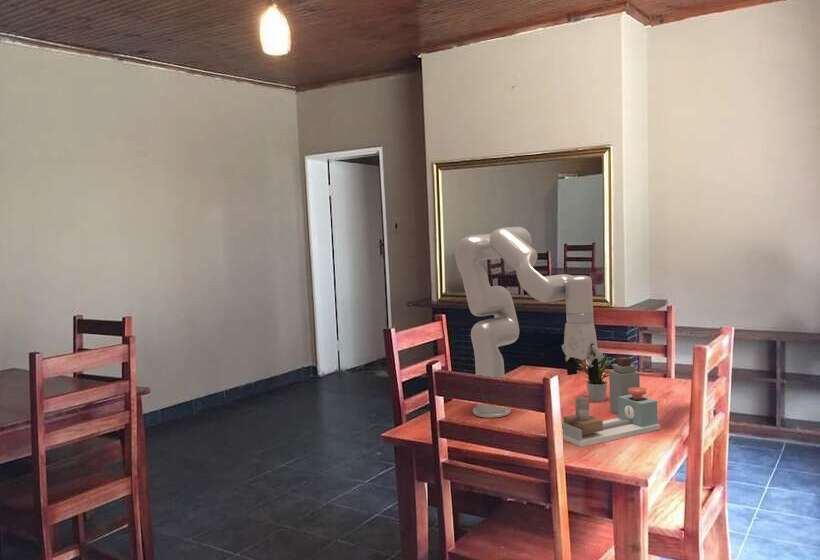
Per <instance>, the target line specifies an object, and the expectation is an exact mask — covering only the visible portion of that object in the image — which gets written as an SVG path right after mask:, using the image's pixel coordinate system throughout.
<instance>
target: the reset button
mask: <svg viewBox="0 0 820 560" xmlns="http://www.w3.org/2000/svg"><path fill="white" fill-rule="evenodd" d="M628 393H629V394H631V395H632V399H633V400H642V399H643V398H642V397H643V395H644V396H645V395H646V394H647V388H645V387H642V386H640V387H630V388H628Z"/></svg>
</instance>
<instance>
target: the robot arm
mask: <svg viewBox="0 0 820 560" xmlns="http://www.w3.org/2000/svg"><path fill="white" fill-rule="evenodd" d="M532 243H533V241H532V236H531V233H530V232H529V231H528V230H527V229H526V228H525V227H523V226H507V227H500V228H497V229H495V230H493V232H491V233H486V234H474V235H468V236H466V237H463V238H462V239H460V241H459V242H457V246H456V248H455V252H454V253H455V255H454V256H455V257H454V258H455V262H456V266H457V268H458V271H459V273H460V275H461V279H462V283H463V289H464V291H465V296H466V301H467V303H468V304H467V305H468V308H469V311H470V313H471V314H472V315H473V316H475V317H487V316H492V315H493V316H494V318H489V319H484V320H479V321H478V322H476V323H475V324H474V325H473V326H472V328H471V331H470V339H471V343H472V348H473V354H474V363H475V364H474V366H475V376H476V375H482V376H490V377H504V378H505V363H504V362H505V361H504V357H503V355H502V353H501V352H500V349H499V347H502V346H503V347H504V346H507V345H511V344H513V343H515V342H516V341H517V340H518V339H519V337H520V336H519V335H520V326H519V321H518V316H517V312H516V309H515V304H514V300H513V297H512V295H511V293H510V291H509V290H508V289H507V288H506V287H505V286H501V285H493V286H491V284H490V281H489V276H488V273H487V271H486V270H485V268H484V266H483V265H481V264H480V261H485V260H495V259H496V260H497V259H503V260H504V261H505V262H506V263H507V264H508V265H510V266H511V267H512V269H514V270H515V271H516V277H517V281H518V283H519V285H520V287H521V288H522V289H523V290H524V291H525V292H526V293H527V294H528V295H529V296H530V297H532V298H533V299H535V300H537V301H539V302H541V303H550V302H556V301H563V300H565V313H566V322H565V325H564V332H563V333H564V336H563V344H561V350H562V353H563V356H564V360H565V362H566V372H567V373H566V374H567V375H568V376H573V375H577V374H578V365H577V363H578V361H577V360H580V361H582V360H583V361H584V360H586V363H587V364H588V365H589V366H590V367H587V369H588V374H587V377H588V378H587V379H588V380H587V381H594V380H598V379H599V375H600V374H599V371H598V366H599V365H600V362H601V359H602V356H603V355H604V353H603V351H602V350H600V349H599V347H598V340H597V333H596V327H595V323H594V321H595V320H594V305H593V304H594V301H593V300H594V298H593V281H592V277H590V276H588V275H572V274H565V273H564V274H563V273H562V274H561V273H560V274H555V275H554V274H552V275H545V276H544V275H543V274H541V273H540V272H539V271H537V270H536V269H535V268H534V266H535V265H536V263H537V260H538V252H537V250H536V249H534V248H533V247H532ZM576 359H577V360H576ZM591 359H593V361H591ZM510 413H511V408H510V409H508V408H502V407H496V406H491V405H484V404H478V403H477V402H476V407H473V408H472V414H473V415H475V416H476V417H481V418H488V419H494V418H501V417H502V418H503V417H507V416H508V415H510Z"/></svg>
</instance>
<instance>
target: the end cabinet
mask: <svg viewBox="0 0 820 560" xmlns="http://www.w3.org/2000/svg"><path fill="white" fill-rule="evenodd" d="M642 398H643V399H642V400H633V399H632V395H631V394H630V395H625V396H619V397H618V408H619V415H618V418H619V419H620V420H625V419H629V420H632V424H634V425H637V426H640V427H645V426H650V425H654V424H659V422H658V401H657V400H656V399H652V398H648V397H645V396H642Z"/></svg>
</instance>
